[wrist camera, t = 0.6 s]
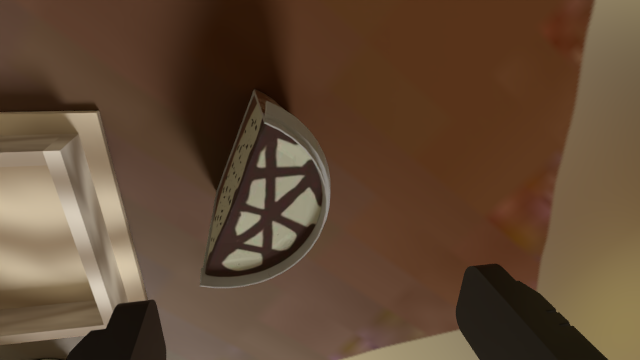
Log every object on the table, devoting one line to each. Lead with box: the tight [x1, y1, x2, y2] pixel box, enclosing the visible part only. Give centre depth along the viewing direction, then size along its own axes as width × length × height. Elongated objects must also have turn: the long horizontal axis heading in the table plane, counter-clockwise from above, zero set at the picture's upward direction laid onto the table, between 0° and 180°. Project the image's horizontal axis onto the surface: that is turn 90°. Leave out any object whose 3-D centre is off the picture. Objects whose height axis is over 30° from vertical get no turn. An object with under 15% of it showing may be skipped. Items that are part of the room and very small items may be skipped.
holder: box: [0, 111, 148, 345], centre depth 27 cm, size 20×16×4 cm
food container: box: [200, 89, 330, 288], centre depth 25 cm, size 12×6×10 cm, turn 155°
